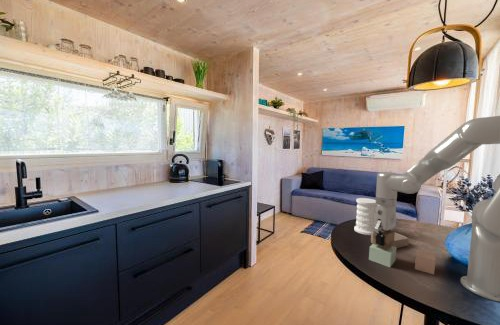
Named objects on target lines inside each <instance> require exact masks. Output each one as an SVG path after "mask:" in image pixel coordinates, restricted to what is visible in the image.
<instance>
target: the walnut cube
mask: <svg viewBox="0 0 500 325" xmlns="http://www.w3.org/2000/svg"><path fill="white" fill-rule="evenodd" d="M380 228H382V227H380ZM382 229H383V228H382ZM380 231H381V233H382V230H380ZM395 233H396V231H395V230H392V231H391V230H388V231H385V232H384V237H385V240H384V246H381V245H378V244H376V232H375V230H373V244H375V245H377V246H380V247H383V248H386V249H389V248H390V247H392V246H393V245H394V237H395Z"/></svg>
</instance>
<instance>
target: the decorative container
mask: <svg viewBox="0 0 500 325" xmlns="http://www.w3.org/2000/svg"><path fill="white" fill-rule="evenodd" d="M355 201H356V203H357V204H356V216H355V219H356V221H355V225H354V226H353V227H354V228H353V229H354V232H356V233H358V234H361V235H364V236H371V235H373V230H374V229H375V213H376V207H377V205H376V199H373V198H367V197H358V198H356V200H355Z"/></svg>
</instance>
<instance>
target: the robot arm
mask: <svg viewBox="0 0 500 325" xmlns="http://www.w3.org/2000/svg"><path fill="white" fill-rule="evenodd" d="M482 145H500V115H495V116H493V115H492V116H486V117H477V118H476V117H475V118H472V119H469V120H468V121H465V122H463V124H461V125H460V126H458V127H457V128H456V129H455V130H454V131H453V132H451V133H450V134H449V135H448V136H447V137H445V138H444V139H443V140H442V141H440V142H439V143H438V144H437V145H435V146H434V147H433V148H432V149H431V150H430V151H428V152H427V153H426V154H425V155H424V156H423V157H422V158H421V159H420V160H419V161H418V162H416V163H415V164H414V165H413V166H411V167H410V168H408V170H406V171H405V172H403V174H397V173H396V172H391V171H389V172H388V171H382V172H379V173H377V175H376V187H375V188H376V189H375V190H376V191H375V200H376V213H375V229H374V230H375V232H376V244H378V245H381V246H384V240H385V237H384V232H385V231H388V230H391V231H393V229H394V228H395V227H397V226H396V225H397V208H396V207H397V203H398V202H397V198H398V192H399V193H403V194H407V195H409V194H412V195H413V194H415V193H417V192H419V191H420V190H421V187H422V185H424V184H425V183H426V182H427V181H428V180H430V179H431V178H432V177H434V176H436V175H437V174H439V173H441V172H443V171H445V170H447V169H450V168H451V167H453V166H455V165H456V164H458V163H459V162H460V161H462V160H463V159H464V158H466V157H467V156H468V155H470V154H471V153H473V152H474V151H475V150H477V149H478V148H479V147H481V146H482ZM492 188H493V190H494V194H493V196H492V197H491V198H487V199H482V200H480V201H478V202H476V203H475V205H474V206H473V208H472V211H471V236H470V246H469V255H468V264H467V273H466V274H467V275H465V276H462V277H460V284H461V285H462V286H463V287H464V288H465V289H466V290H468V291H470V292H471V293H473V294H476V295H478V296H480V297H483V298H484V299H488V300H491V301H494V302H495V301H496V302H498V303H499V302H500V173H498V175H497V177H496V178H495V179H494V181H493V187H492ZM380 227H381V228H380ZM382 228H383V229H382ZM380 230H382V233H381V231H380Z"/></svg>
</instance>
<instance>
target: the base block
mask: <svg viewBox="0 0 500 325" xmlns="http://www.w3.org/2000/svg"><path fill="white" fill-rule="evenodd" d="M368 251H369V252H368V260H369V261H371V262H374V263H377V264H380V265H382V266H385V267H388V268H391V267H392V266H393V265H394V263H395V262H396V258H397V248H396V247H394V246H392V247H390V248H389V249H386V248H383V247H380V246H377V245H375V244H372V243H371V245H370V246H369V250H368Z"/></svg>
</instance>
